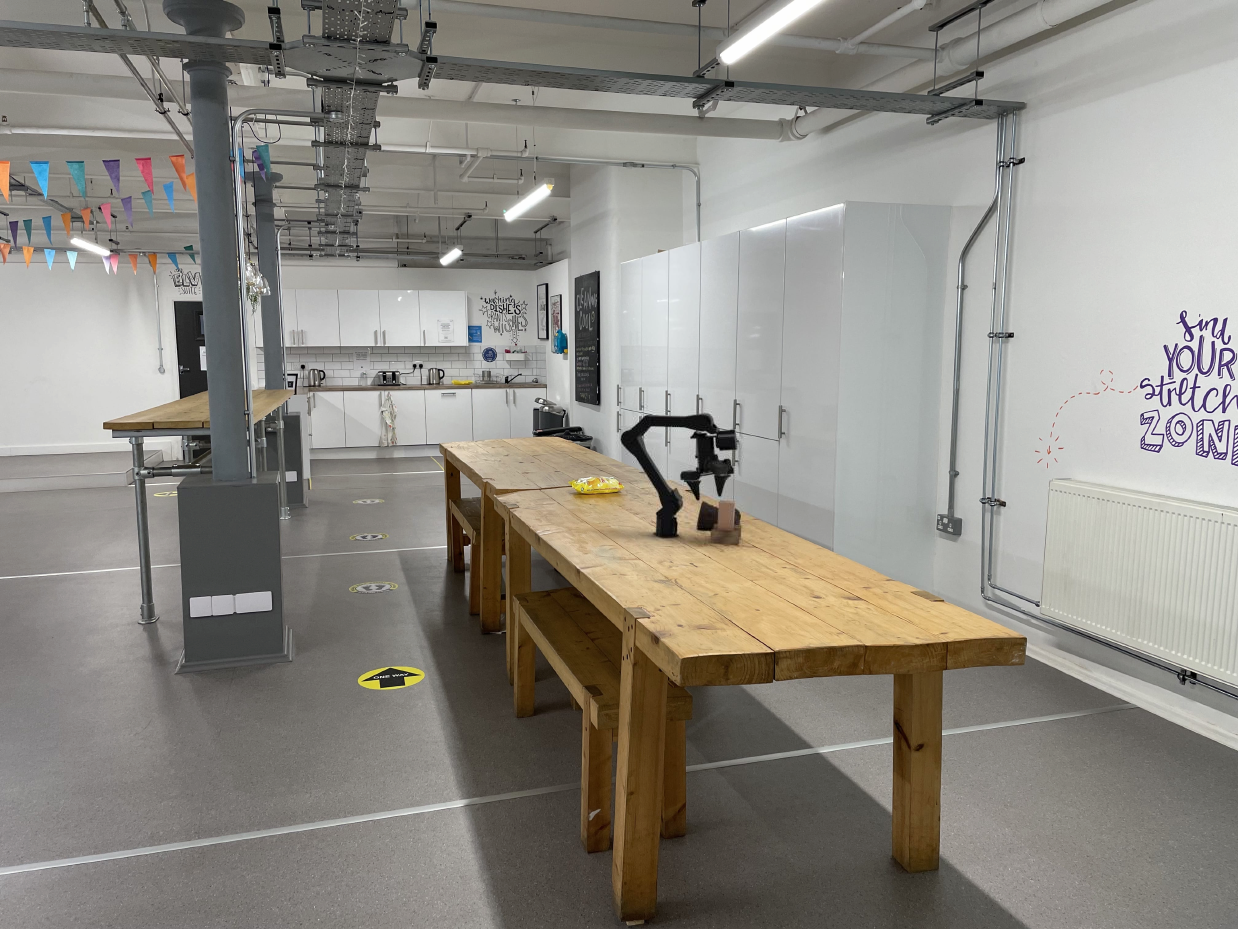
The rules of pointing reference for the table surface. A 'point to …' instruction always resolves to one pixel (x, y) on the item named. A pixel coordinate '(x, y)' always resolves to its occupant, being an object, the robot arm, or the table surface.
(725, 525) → the clay block
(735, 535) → the rack
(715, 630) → the table surface
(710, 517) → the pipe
